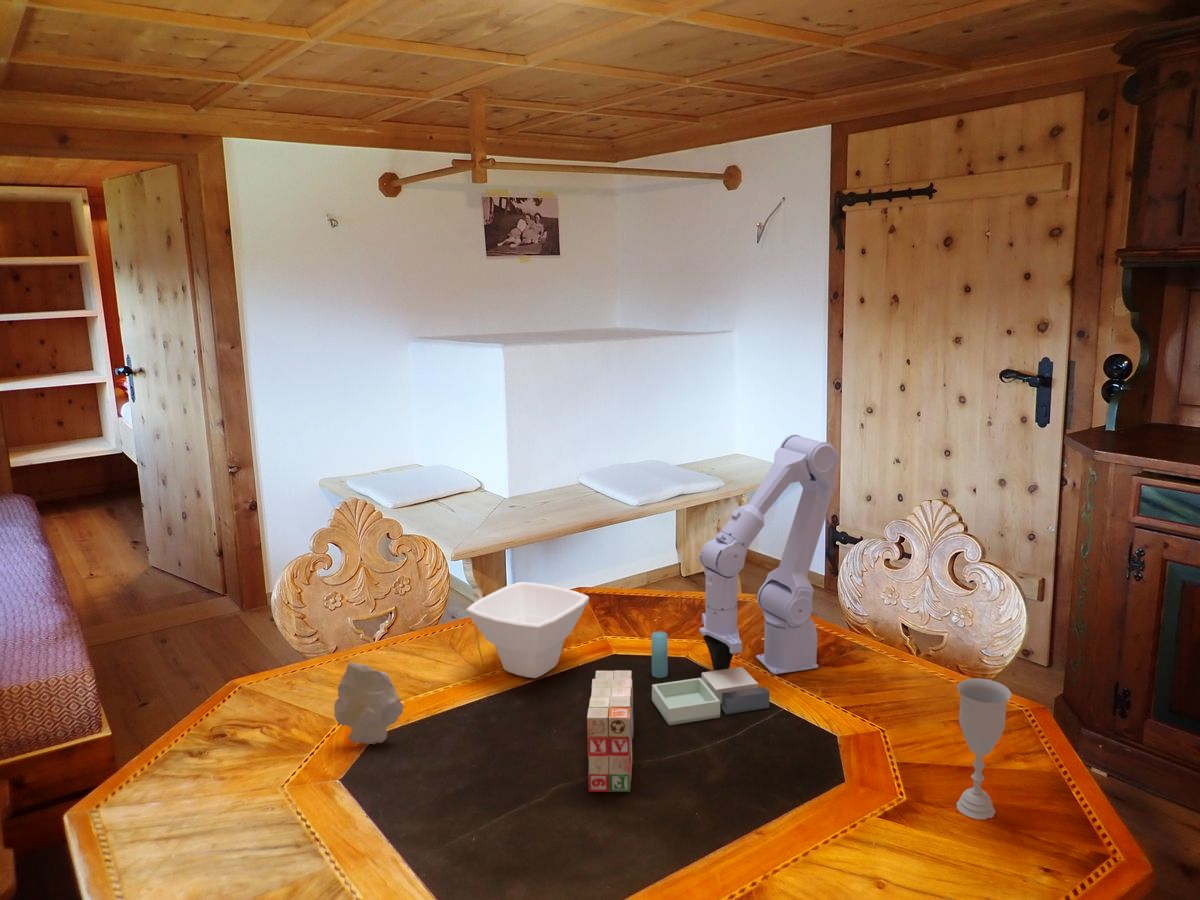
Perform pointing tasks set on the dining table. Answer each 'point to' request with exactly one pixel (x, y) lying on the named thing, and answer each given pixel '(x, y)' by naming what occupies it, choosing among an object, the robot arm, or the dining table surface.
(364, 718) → the stone tool
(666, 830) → the dining table surface
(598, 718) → the stack of blocks
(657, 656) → the dowel
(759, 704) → the bench dog
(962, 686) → the chalice
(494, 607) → the bowl
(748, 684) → the pale grey box
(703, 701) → the tray
